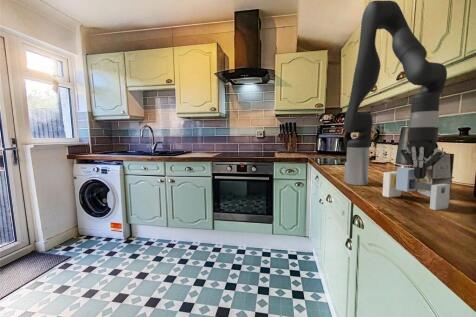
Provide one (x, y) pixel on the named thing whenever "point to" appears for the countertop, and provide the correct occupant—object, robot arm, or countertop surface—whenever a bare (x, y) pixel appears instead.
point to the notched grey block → (405, 179)
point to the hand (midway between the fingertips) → (419, 178)
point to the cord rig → (438, 191)
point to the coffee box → (439, 173)
